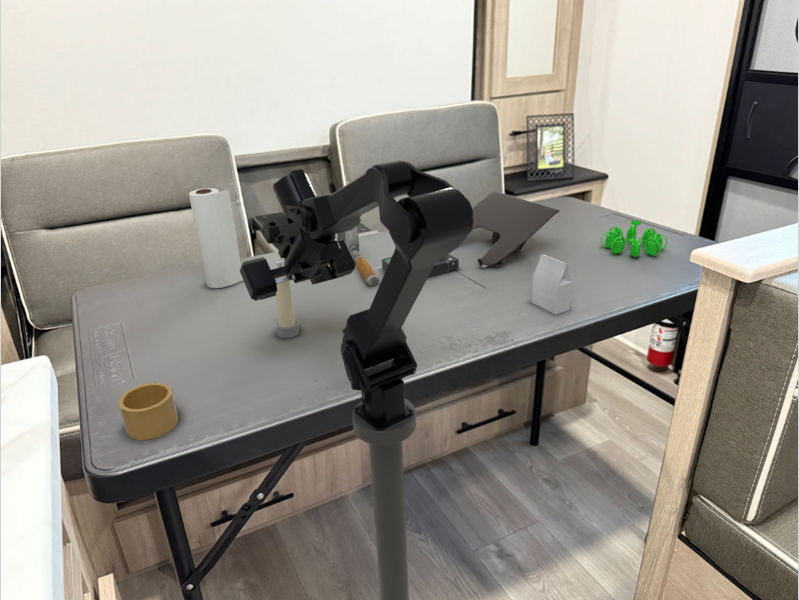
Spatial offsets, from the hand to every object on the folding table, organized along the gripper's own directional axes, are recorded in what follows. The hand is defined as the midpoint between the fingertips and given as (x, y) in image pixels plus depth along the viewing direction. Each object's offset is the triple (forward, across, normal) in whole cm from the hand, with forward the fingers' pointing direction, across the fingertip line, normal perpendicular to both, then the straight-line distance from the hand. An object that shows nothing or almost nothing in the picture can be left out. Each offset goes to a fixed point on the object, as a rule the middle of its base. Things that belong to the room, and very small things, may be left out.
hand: (288, 288), depth 107 cm
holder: (0, +28, +15) cm, 32 cm away
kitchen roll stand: (+9, 0, +5) cm, 11 cm away
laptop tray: (+16, -59, -1) cm, 61 cm away
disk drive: (+16, -38, -1) cm, 41 cm away
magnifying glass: (+23, -26, -8) cm, 36 cm away
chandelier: (0, -85, +14) cm, 86 cm away
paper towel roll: (+31, +2, -16) cm, 35 cm away
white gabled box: (-6, -46, +21) cm, 51 cm away
